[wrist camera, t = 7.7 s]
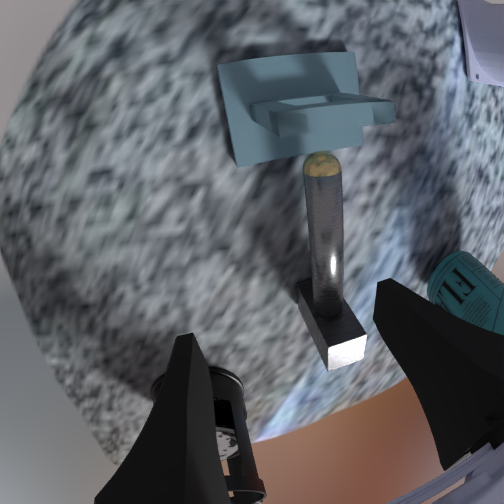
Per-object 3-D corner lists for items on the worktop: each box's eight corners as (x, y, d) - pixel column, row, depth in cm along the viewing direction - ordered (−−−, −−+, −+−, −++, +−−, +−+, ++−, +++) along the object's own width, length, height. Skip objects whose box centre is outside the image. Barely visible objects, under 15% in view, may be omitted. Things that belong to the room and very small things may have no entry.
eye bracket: (216, 65, 14) (230, 55, 9) (348, 52, 15) (411, 49, 10) (235, 164, 18) (257, 202, 12) (357, 142, 18) (416, 171, 13)
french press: (127, 389, 27) (138, 612, 7) (193, 348, 25) (242, 628, 6) (206, 426, 33) (239, 599, 13) (269, 395, 31) (330, 588, 12)
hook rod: (278, 142, 17) (323, 176, 12) (319, 136, 17) (378, 166, 12) (298, 307, 24) (327, 371, 19) (328, 299, 25) (363, 358, 19)
